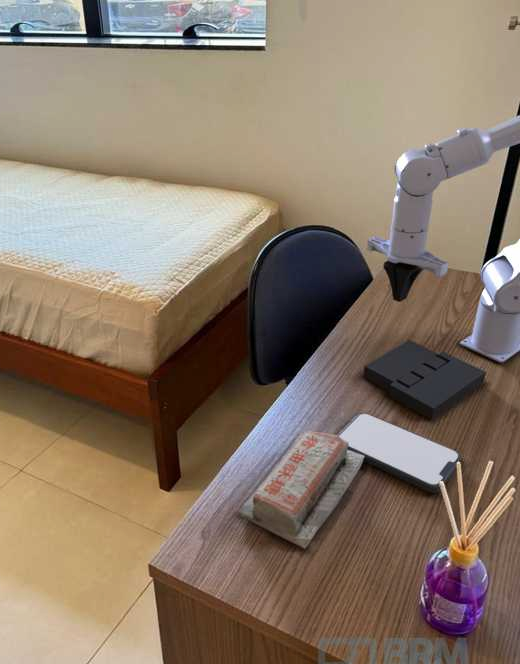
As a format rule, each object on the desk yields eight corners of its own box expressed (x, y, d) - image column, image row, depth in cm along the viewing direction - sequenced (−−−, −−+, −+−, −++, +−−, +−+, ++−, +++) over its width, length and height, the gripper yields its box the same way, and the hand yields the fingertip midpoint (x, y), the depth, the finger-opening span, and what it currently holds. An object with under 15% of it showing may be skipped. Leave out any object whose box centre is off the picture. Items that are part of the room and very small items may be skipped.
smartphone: (330, 448, 90) (436, 499, 80) (330, 440, 89) (438, 490, 80) (360, 417, 95) (463, 461, 86) (361, 409, 95) (465, 453, 85)
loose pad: (407, 350, 109) (409, 339, 108) (448, 370, 103) (451, 359, 102) (363, 377, 104) (364, 365, 102) (404, 400, 98) (406, 388, 96)
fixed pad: (440, 362, 106) (442, 351, 104) (483, 383, 100) (486, 371, 99) (388, 396, 99) (390, 384, 98) (431, 420, 93) (433, 408, 92)
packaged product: (308, 526, 72) (237, 492, 78) (306, 552, 75) (238, 518, 80) (367, 438, 84) (302, 413, 89) (364, 463, 87) (301, 438, 92)
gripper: (358, 221, 102) (351, 291, 109) (433, 246, 92) (421, 323, 99) (385, 209, 106) (377, 279, 113) (461, 233, 95) (447, 308, 103)
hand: (399, 298), depth 106 cm, fingers closed
